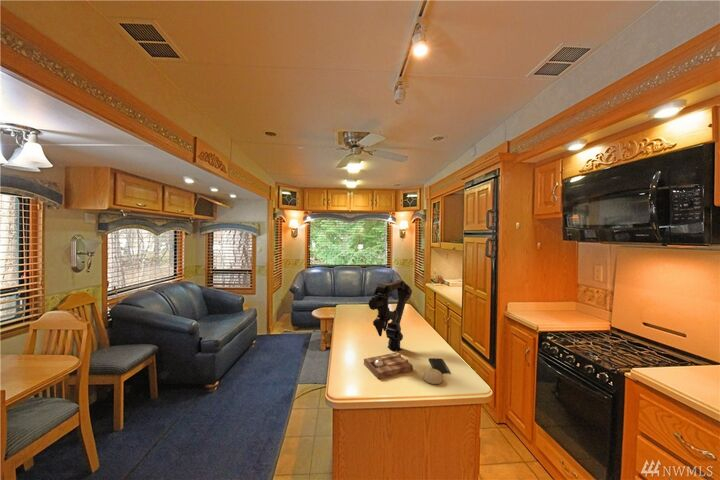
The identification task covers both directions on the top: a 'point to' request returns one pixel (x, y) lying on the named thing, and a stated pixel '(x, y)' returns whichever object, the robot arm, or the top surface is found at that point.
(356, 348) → the top surface
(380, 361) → the steel ball
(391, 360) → the hole deck
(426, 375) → the sea urchin shell
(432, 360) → the phone
